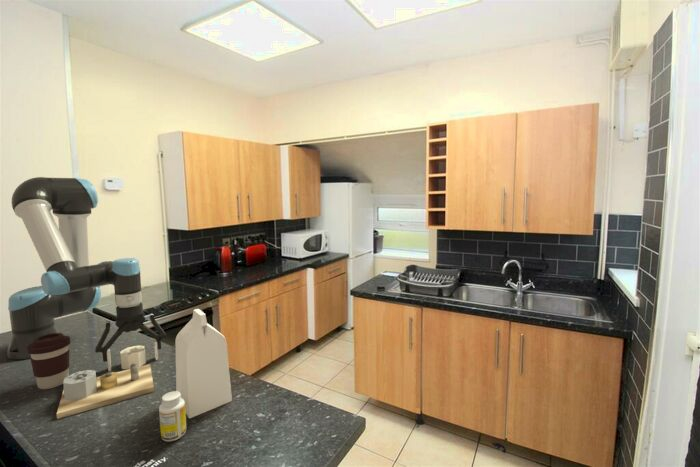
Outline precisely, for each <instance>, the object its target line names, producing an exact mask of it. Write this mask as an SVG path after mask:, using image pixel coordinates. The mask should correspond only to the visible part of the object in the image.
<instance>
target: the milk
mask: <svg viewBox="0 0 700 467" xmlns="http://www.w3.org/2000/svg"><path fill="white" fill-rule="evenodd" d="M229 365H230V364H229V356H228V343H227V340H226V337H225V335H223V334H222V333H221V332H220V331H219V330H217V329H216V328H215V327H214V326H212V325H211V324H210V323H208V321H207V316H206V313H204V311H203V310H202V309H199V308H195V309H193V310H192V318H191V319H190V320H189V321H188V322H187V323H186V324H185V325H184V326H183V328H182V329H181V330H180V331H179V332H178V333H177V335H176V337H175V384H176V386H175V387H176V388H175V391H178V392H180V394H181V398H183V399H184V401H185V414H186V417H187V418H188V419H192V418H194V417H196V416H199V415H201V414H204V413H206V412H209V411H211V410H213V409H216V408H218V407H220V406H223V405H226V404H228V403H230V402H233V396H232V385H231V375H230V366H229Z"/></svg>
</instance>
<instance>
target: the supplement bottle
mask: <svg viewBox="0 0 700 467" xmlns="http://www.w3.org/2000/svg"><path fill="white" fill-rule="evenodd" d="M158 415H159V429H160V437H161V440H163V441H164V442H174V441H177V440H178V439H181V438H182V437H183V436H185V433H186V432H187V414H186V413H185V401H184V399H183V398H181V394H180V392H178V391H176V390H172V391H168V392H167V393H165V394H163V395H162V397H161V404H160V405H159V406H158Z"/></svg>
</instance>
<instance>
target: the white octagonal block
mask: <svg viewBox="0 0 700 467" xmlns="http://www.w3.org/2000/svg"><path fill="white" fill-rule="evenodd" d="M146 358H147V357H146V349H145V345H138V344H137V345H133V346H130V347H129V346H128V347H126V348H124V349H122V350H121V351H120V365H121V369H122V370H128V369H130V366H131V365H132V363H136V364H138V367H140V366H144V365H146V364H147V359H146Z"/></svg>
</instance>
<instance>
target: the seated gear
mask: <svg viewBox="0 0 700 467" xmlns="http://www.w3.org/2000/svg"><path fill="white" fill-rule="evenodd" d="M80 375H82V376H84V378H83V379H79V380H76V378H77V377H78V376H80ZM96 377H97V374H96V370H91V369H86V370H81V371H76V372H73V373H72V374H69V376H68V377H66V378H65V379H64V382H63V384H62V385H63V390H64V395H65V400H70V401H75V400H79V399H83V398H86V397H88V396H90V395H92V394H93V393H95V392H96V391H97V381H96Z"/></svg>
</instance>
